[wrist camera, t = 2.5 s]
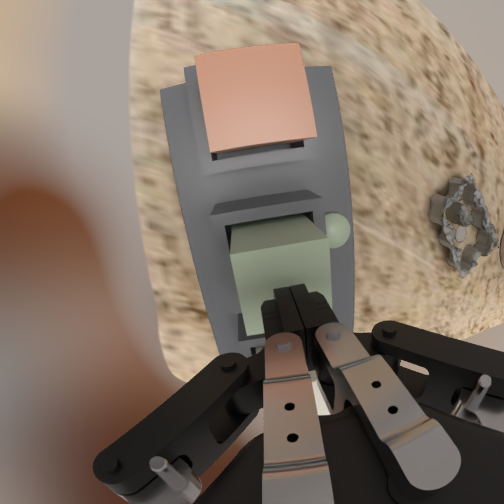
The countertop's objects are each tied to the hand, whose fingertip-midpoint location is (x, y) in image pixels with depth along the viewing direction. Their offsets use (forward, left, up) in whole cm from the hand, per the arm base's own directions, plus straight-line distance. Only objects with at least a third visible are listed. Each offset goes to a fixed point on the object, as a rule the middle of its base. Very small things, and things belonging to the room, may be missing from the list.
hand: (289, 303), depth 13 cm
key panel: (-1, 0, -12) cm, 12 cm away
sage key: (0, 0, -7) cm, 7 cm away
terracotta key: (0, -10, -7) cm, 12 cm away
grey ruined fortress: (-22, +2, -12) cm, 25 cm away
